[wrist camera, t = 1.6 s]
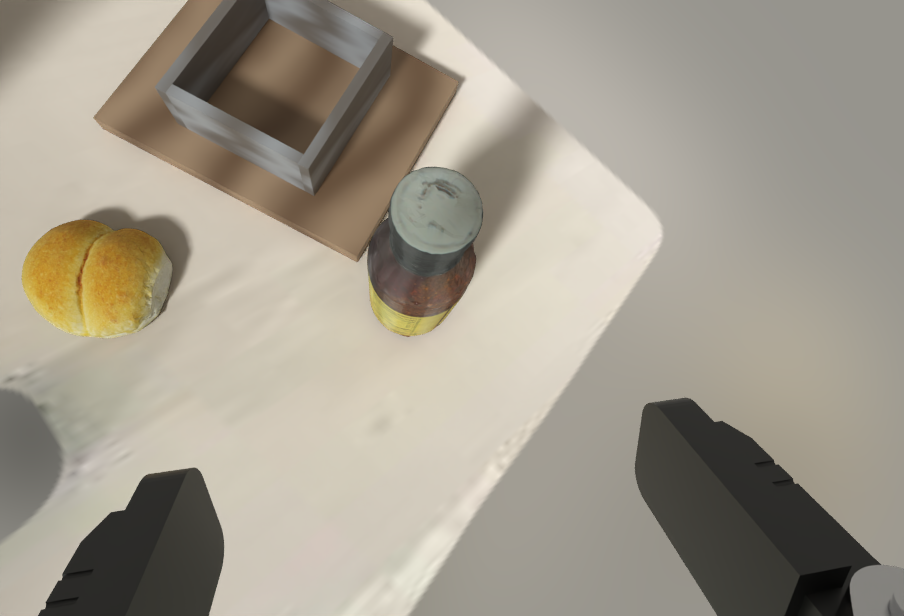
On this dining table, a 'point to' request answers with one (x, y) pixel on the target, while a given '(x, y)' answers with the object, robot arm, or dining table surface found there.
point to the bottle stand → (284, 111)
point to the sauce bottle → (424, 250)
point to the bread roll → (97, 279)
